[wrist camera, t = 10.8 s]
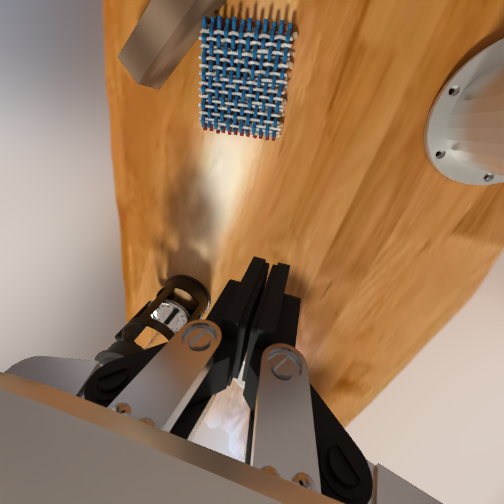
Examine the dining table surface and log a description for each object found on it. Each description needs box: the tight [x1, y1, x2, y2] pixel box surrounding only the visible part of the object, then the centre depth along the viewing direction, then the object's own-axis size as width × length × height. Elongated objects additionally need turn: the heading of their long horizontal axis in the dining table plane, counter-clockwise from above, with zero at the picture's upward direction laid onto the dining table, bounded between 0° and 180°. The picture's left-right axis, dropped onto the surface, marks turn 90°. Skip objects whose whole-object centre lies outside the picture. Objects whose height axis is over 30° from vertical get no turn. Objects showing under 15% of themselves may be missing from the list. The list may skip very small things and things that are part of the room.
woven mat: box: [198, 15, 298, 141], centre depth 26 cm, size 10×11×2 cm
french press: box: [95, 275, 210, 365], centre depth 34 cm, size 12×9×23 cm
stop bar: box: [118, 0, 226, 89], centre depth 22 cm, size 18×3×4 cm, turn 128°
